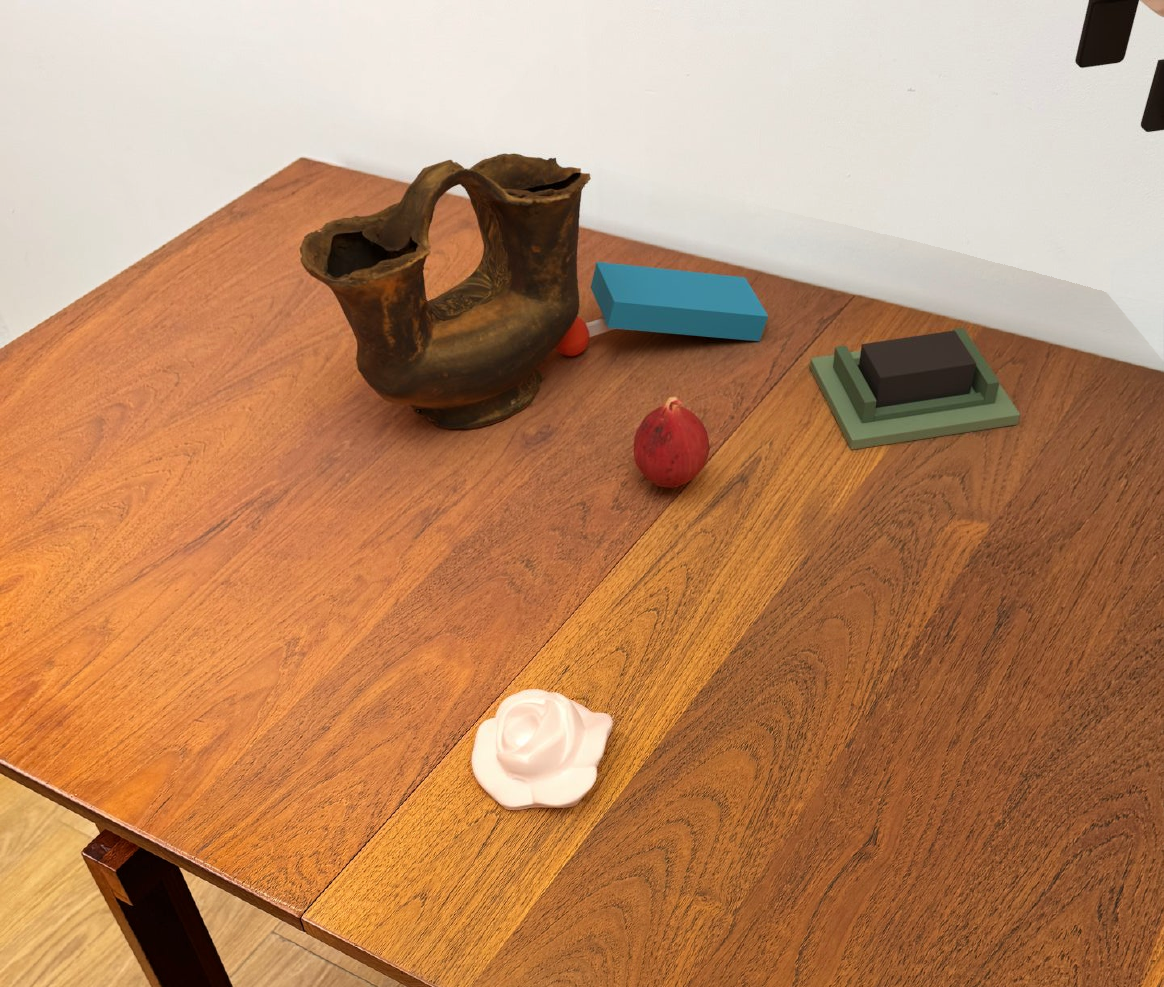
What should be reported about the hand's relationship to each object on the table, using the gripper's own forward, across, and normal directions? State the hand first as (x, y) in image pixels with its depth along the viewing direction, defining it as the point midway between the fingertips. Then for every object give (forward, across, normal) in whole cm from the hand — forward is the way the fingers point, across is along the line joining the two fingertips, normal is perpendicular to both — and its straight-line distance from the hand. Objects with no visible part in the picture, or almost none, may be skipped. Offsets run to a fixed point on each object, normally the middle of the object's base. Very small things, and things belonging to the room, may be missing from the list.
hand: (1130, 94), depth 80 cm
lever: (+26, +22, +27) cm, 44 cm away
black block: (+25, +8, +8) cm, 28 cm away
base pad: (+26, +8, +8) cm, 29 cm away
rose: (+26, -25, +44) cm, 57 cm away
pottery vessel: (+26, +17, +44) cm, 54 cm away
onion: (+26, +1, +30) cm, 40 cm away
